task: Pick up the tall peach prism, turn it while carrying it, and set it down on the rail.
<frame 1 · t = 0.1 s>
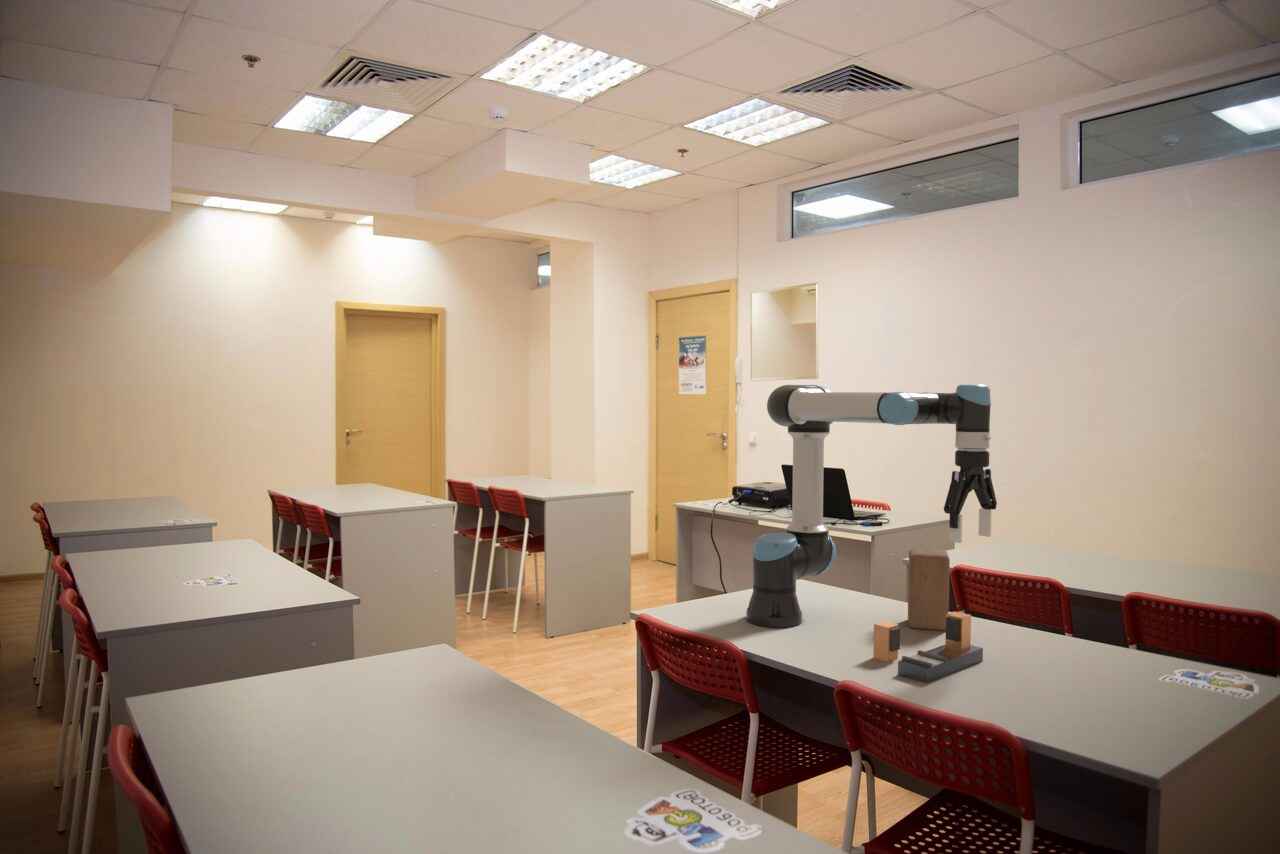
hand: (970, 539, 195), 28 cm above the table, fingers open, 13 cm apart
wooden block: (927, 626, 222), on the table
tall peach prism: (885, 657, 194), on the table
rail: (941, 667, 187), on the table
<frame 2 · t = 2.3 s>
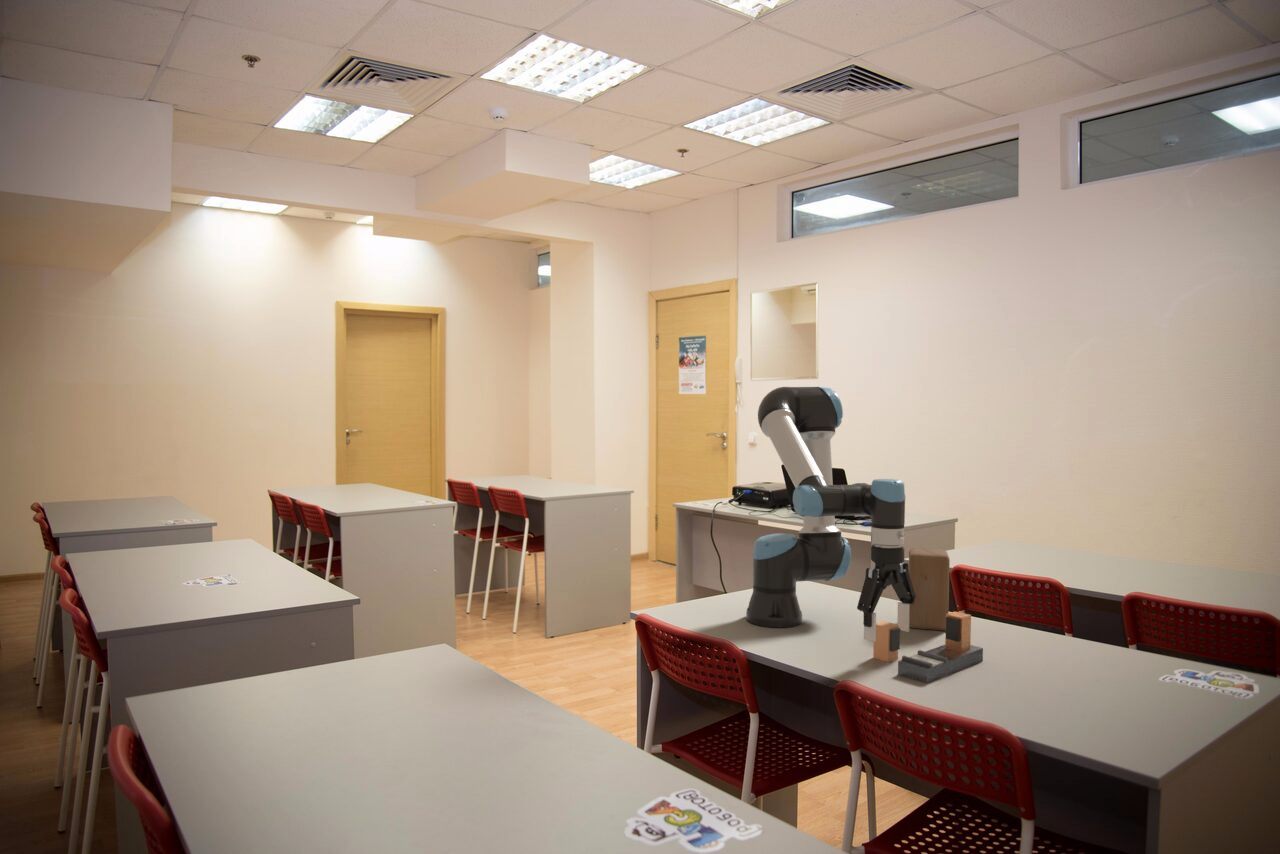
hand: (887, 635, 193), 5 cm above the table, fingers open, 13 cm apart
nothing on the table moved.
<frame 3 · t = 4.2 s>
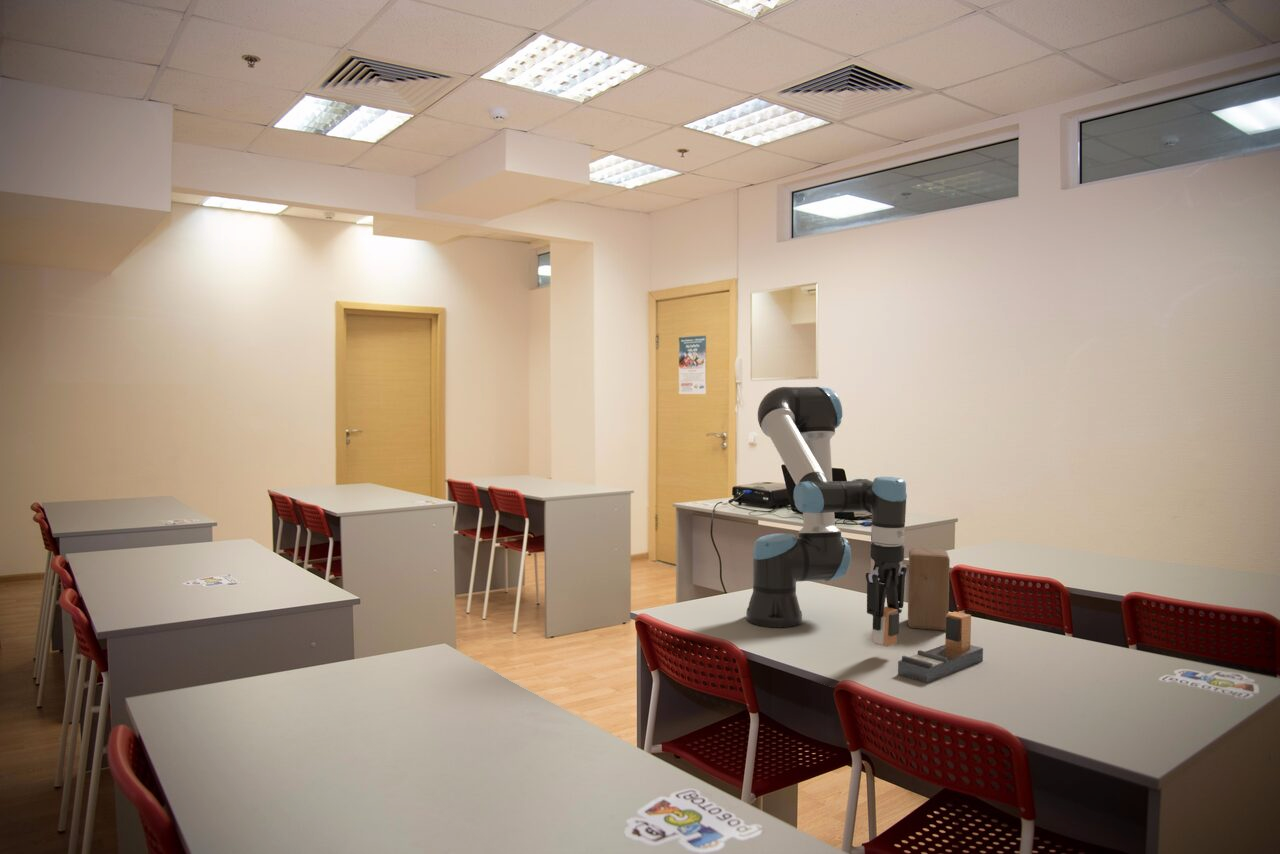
hand: (884, 640, 194), 4 cm above the table, fingers closed on tall peach prism, 4 cm apart
tall peach prism: (884, 642, 194), point 3 cm above the table, touching gripper
everything else where it was.
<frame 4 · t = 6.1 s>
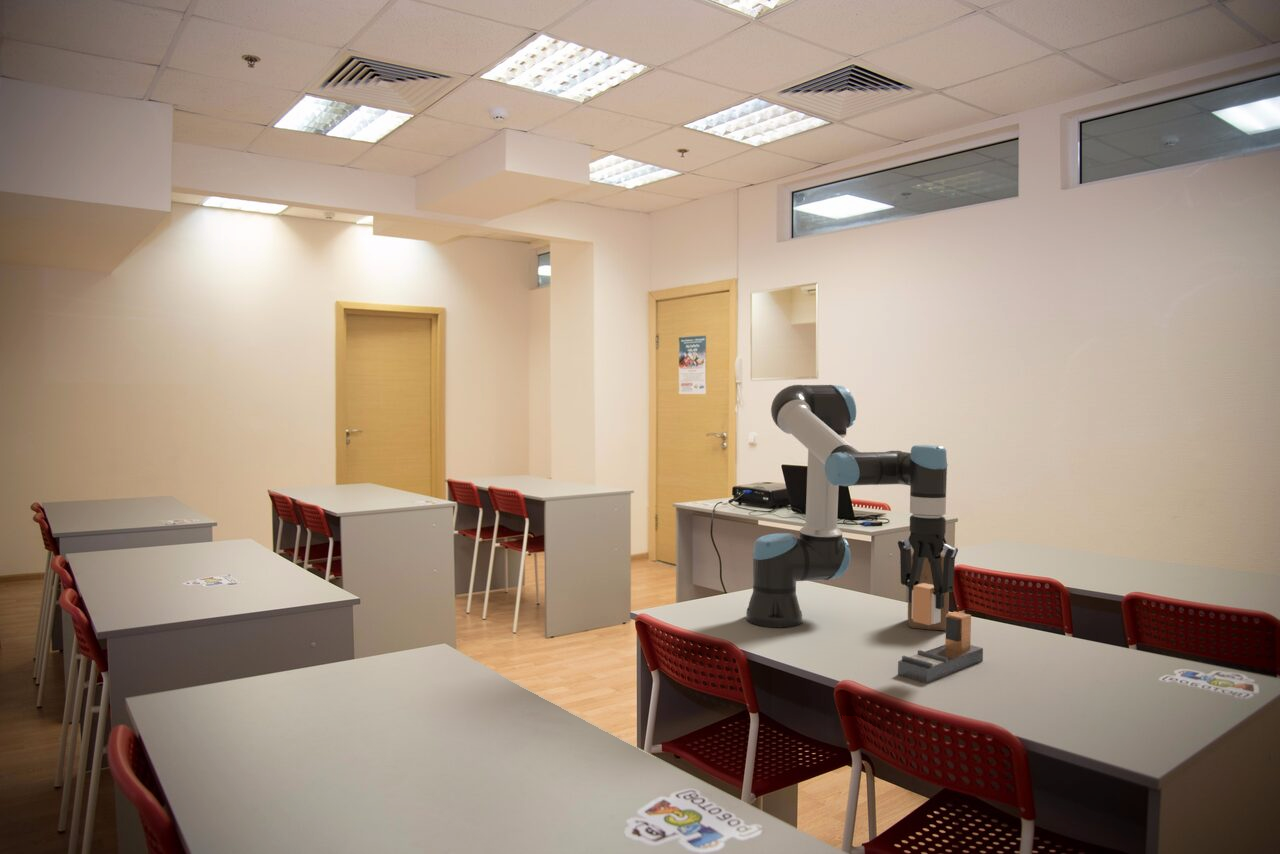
hand: (925, 620, 182), 12 cm above the table, fingers closed on tall peach prism, 4 cm apart
tall peach prism: (926, 621, 182), point 12 cm above the table, touching gripper
everything else where it was.
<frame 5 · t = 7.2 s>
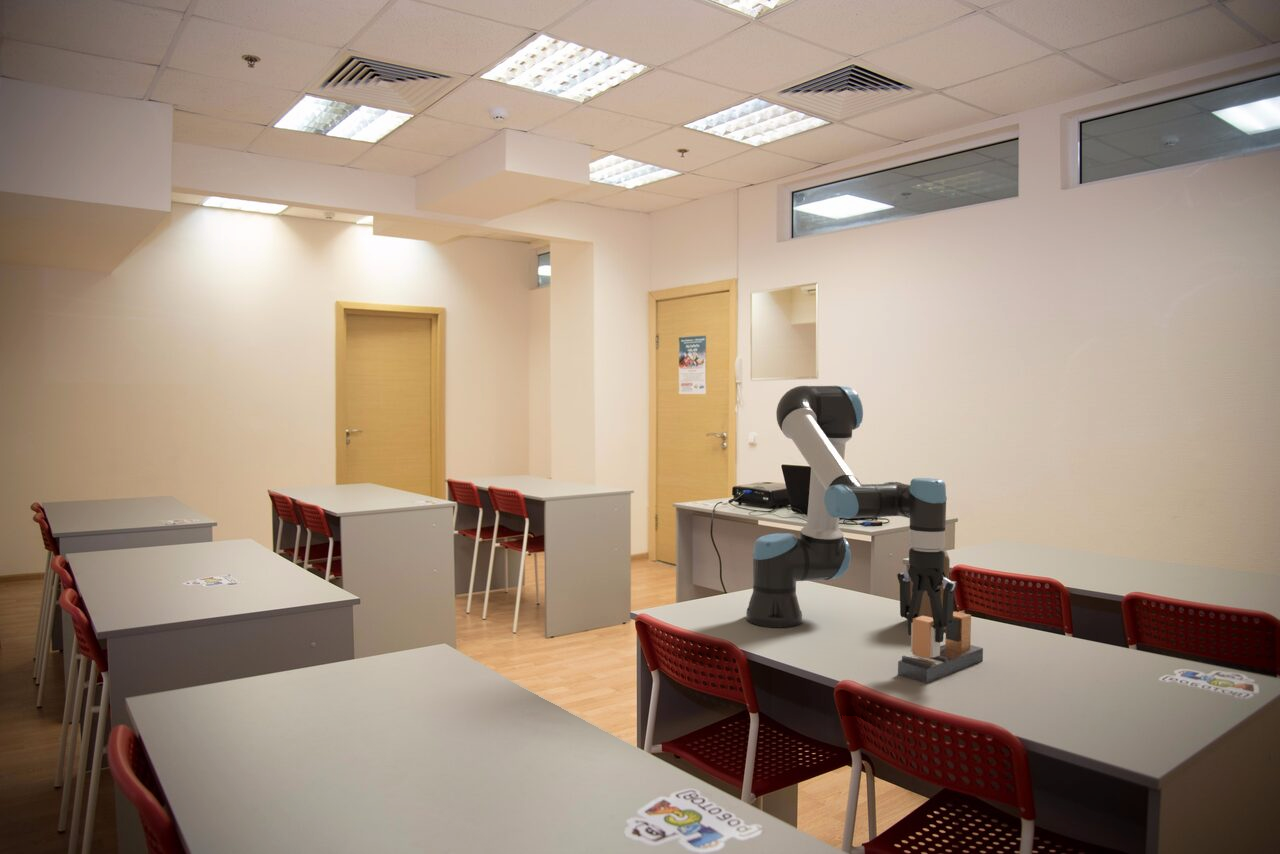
hand: (925, 653, 182), 5 cm above the table, fingers closed on tall peach prism, 4 cm apart
tall peach prism: (925, 654, 182), point 4 cm above the table, touching gripper
everything else where it was.
when the fingers open (3 cm above the table, at t = 7.8 s): tall peach prism stays where it is, resting on rail.
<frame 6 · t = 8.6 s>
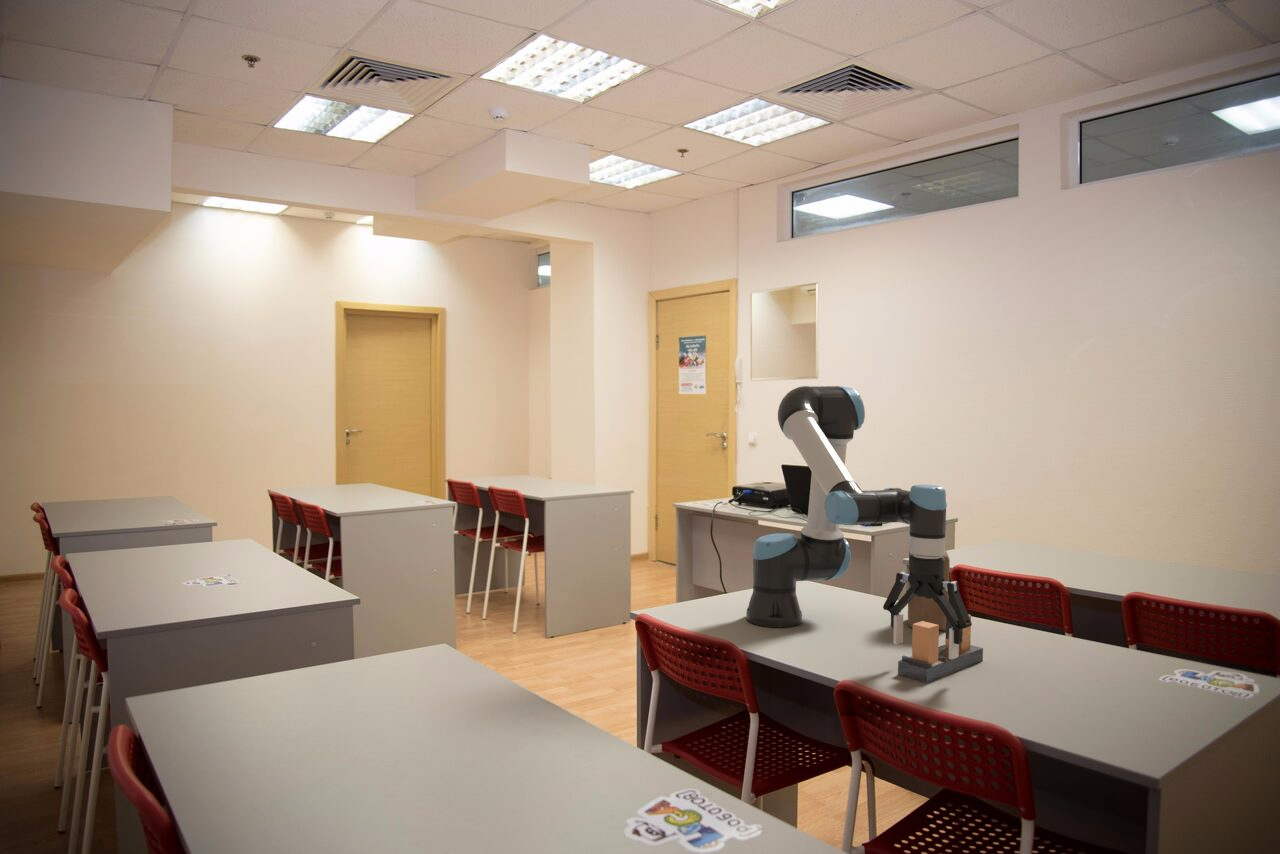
hand: (925, 650, 182), 5 cm above the table, fingers open, 13 cm apart
tall peach prism: (925, 660, 182), point 3 cm above the table, touching rail
everything else where it was.
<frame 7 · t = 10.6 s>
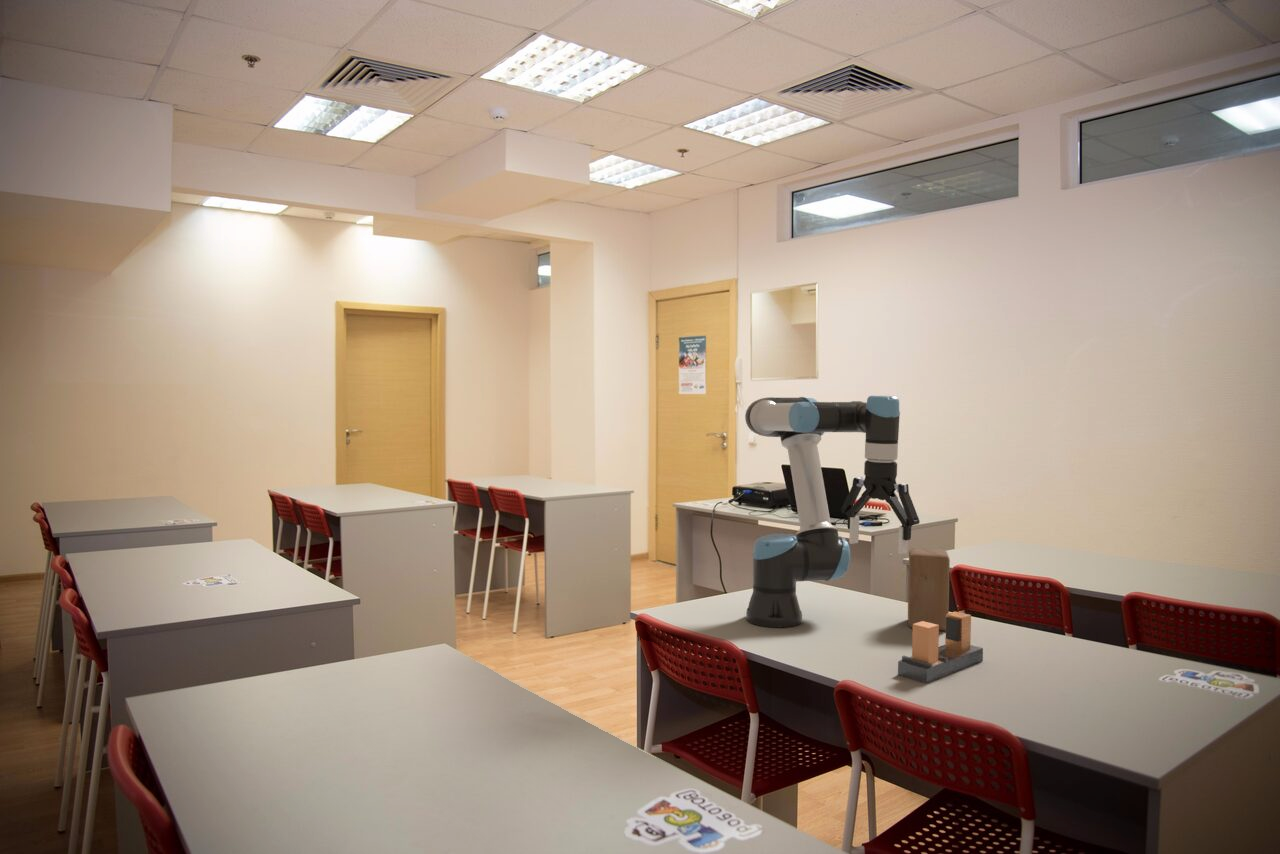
hand: (877, 548, 197), 25 cm above the table, fingers open, 13 cm apart
nothing on the table moved.
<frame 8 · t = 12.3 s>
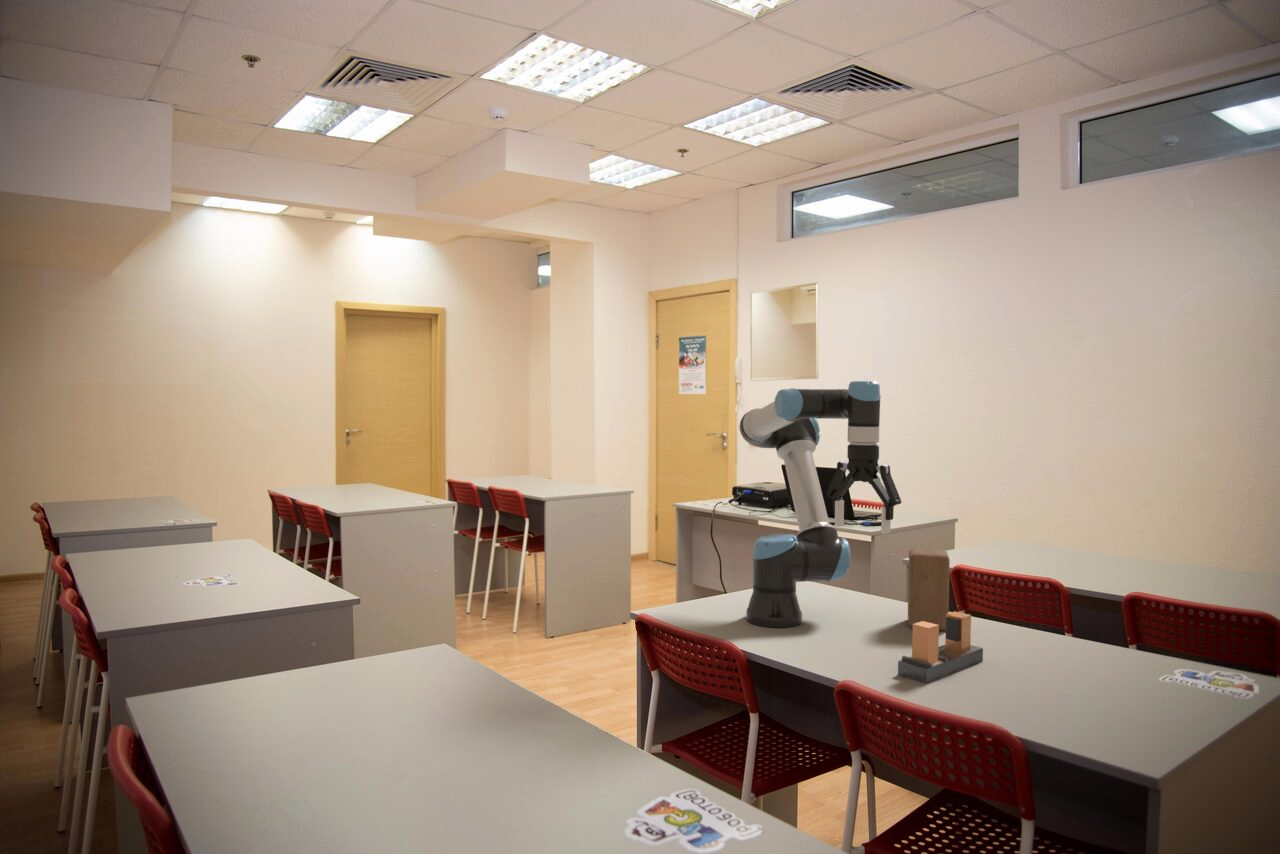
hand: (861, 529, 203), 29 cm above the table, fingers open, 13 cm apart
nothing on the table moved.
at the end: tall peach prism 0.1 cm from the target spot on the rail, point 3.1 cm above the rail's base; tall peach prism tilted 0°; the gripper is holding nothing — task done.
